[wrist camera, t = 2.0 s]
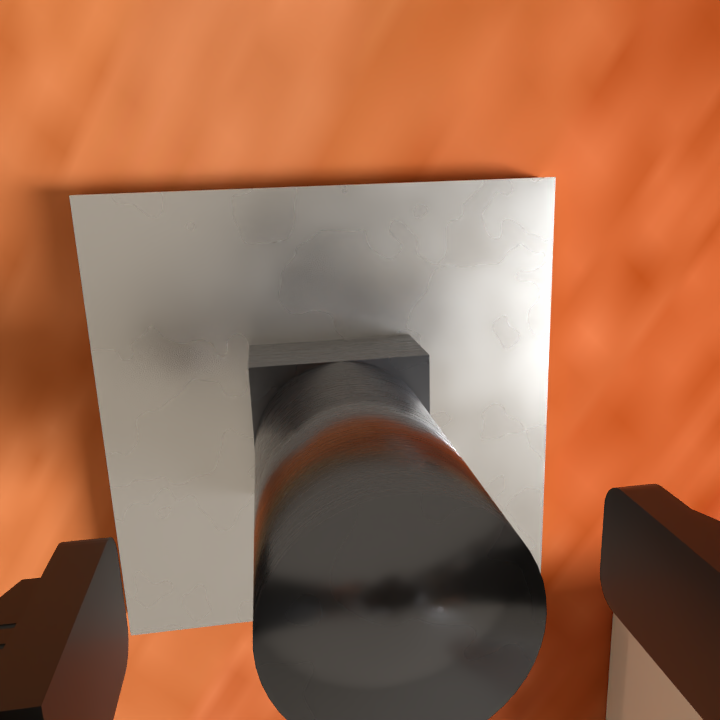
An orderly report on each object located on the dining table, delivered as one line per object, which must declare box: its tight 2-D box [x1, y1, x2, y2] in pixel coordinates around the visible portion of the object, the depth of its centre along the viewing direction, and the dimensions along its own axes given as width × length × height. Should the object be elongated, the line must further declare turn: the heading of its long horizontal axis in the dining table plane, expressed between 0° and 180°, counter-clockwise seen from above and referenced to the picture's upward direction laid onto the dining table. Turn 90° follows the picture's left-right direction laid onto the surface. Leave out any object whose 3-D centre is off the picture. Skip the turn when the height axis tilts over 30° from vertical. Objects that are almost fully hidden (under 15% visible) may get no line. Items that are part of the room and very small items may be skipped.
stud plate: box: [69, 177, 556, 635], centre depth 18 cm, size 12×12×3 cm
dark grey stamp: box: [248, 335, 547, 720], centre depth 14 cm, size 4×4×9 cm
